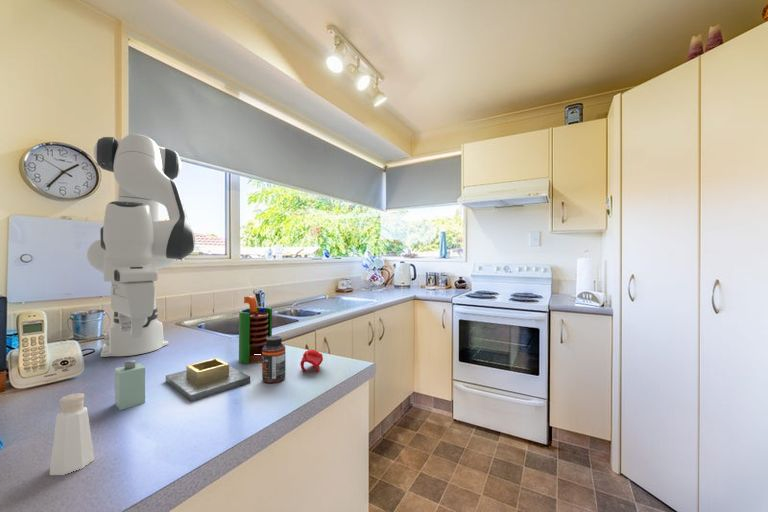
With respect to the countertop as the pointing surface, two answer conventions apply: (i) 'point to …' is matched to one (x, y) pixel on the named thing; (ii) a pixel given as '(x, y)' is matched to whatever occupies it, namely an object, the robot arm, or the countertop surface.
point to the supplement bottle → (273, 360)
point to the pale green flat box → (129, 385)
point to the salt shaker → (71, 437)
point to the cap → (312, 359)
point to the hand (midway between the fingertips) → (130, 333)
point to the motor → (253, 331)
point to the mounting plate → (206, 379)
